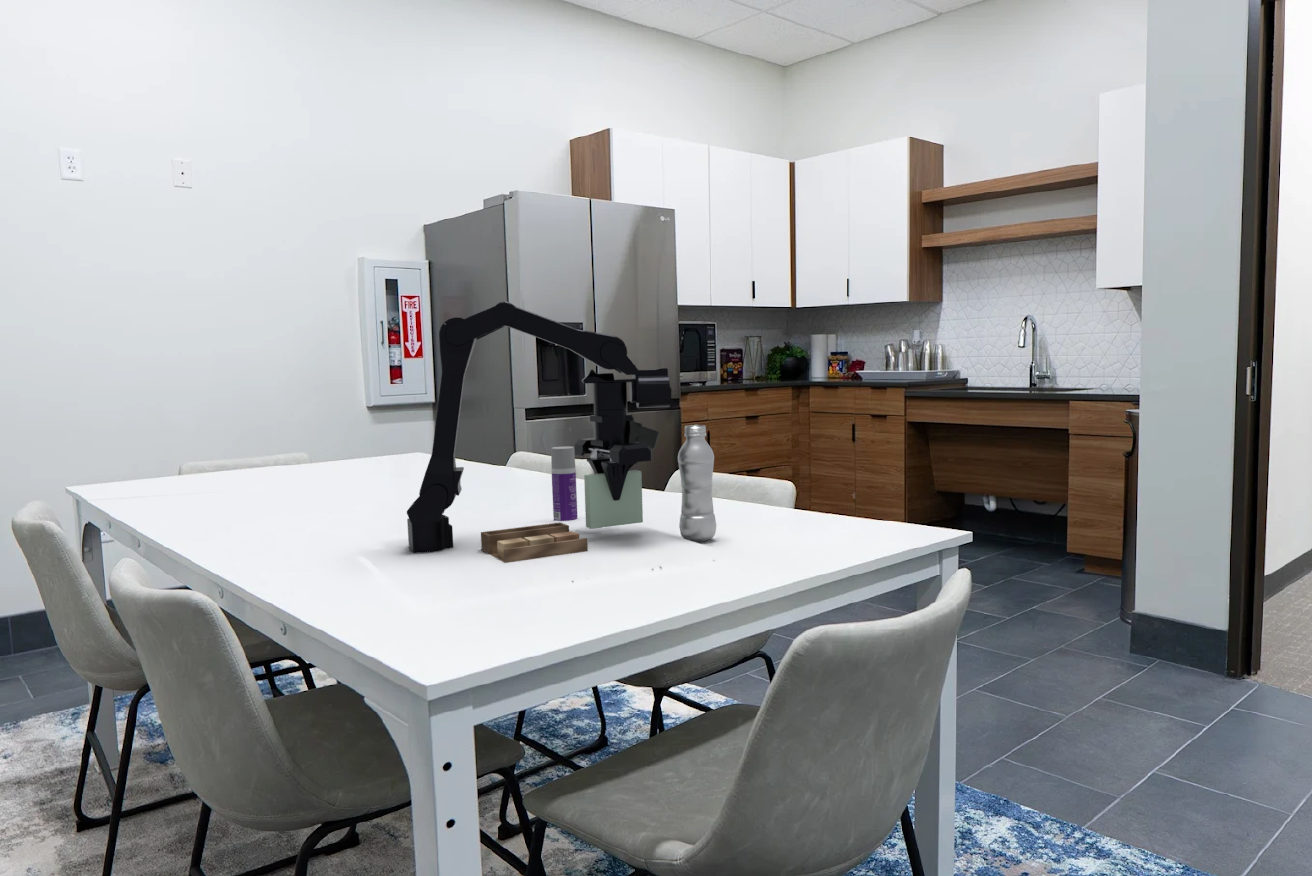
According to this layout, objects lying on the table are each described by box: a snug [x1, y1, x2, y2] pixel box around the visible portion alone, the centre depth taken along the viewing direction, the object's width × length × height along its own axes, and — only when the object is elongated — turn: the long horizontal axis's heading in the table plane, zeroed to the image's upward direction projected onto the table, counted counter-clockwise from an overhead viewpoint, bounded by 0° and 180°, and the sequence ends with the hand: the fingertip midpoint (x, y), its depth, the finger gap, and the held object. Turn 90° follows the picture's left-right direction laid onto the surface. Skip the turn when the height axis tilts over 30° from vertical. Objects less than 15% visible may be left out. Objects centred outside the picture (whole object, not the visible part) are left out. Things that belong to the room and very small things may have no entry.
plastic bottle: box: [677, 424, 717, 543], centre depth 157 cm, size 6×7×20 cm
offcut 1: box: [497, 538, 528, 559], centre depth 145 cm, size 4×3×2 cm
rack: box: [480, 521, 589, 564], centre depth 150 cm, size 14×12×4 cm
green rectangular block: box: [583, 469, 644, 530], centre depth 158 cm, size 10×2×9 cm, turn 119°
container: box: [550, 445, 579, 522], centre depth 178 cm, size 5×5×15 cm
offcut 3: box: [550, 530, 580, 542], centre depth 150 cm, size 4×3×2 cm
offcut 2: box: [524, 535, 554, 546], centre depth 148 cm, size 4×3×2 cm
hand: (613, 499), depth 158 cm, fingers closed on green rectangular block, 2 cm apart
